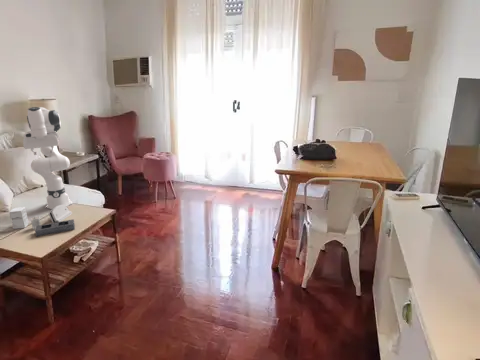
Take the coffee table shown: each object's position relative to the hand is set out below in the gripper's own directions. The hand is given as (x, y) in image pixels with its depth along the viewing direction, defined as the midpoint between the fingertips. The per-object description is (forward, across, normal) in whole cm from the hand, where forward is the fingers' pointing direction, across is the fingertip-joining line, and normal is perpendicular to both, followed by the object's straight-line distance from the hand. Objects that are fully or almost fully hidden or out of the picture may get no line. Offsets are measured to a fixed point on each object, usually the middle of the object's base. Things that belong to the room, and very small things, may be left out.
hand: (43, 153), depth 225 cm
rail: (+48, 0, +18) cm, 51 cm away
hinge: (+48, -2, -4) cm, 48 cm away
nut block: (+48, +12, +7) cm, 50 cm away
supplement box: (+48, +22, -1) cm, 53 cm away
